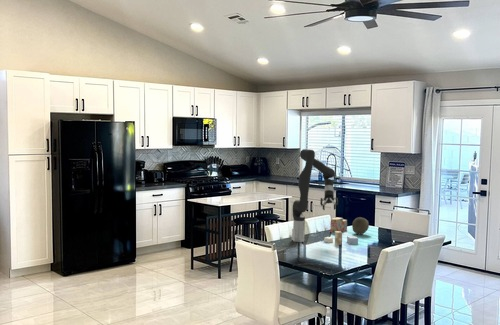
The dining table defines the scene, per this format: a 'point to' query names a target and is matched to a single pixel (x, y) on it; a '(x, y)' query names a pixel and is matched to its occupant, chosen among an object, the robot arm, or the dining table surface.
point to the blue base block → (352, 240)
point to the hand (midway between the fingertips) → (329, 209)
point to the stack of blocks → (338, 224)
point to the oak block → (338, 237)
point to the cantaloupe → (360, 225)
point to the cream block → (328, 239)
